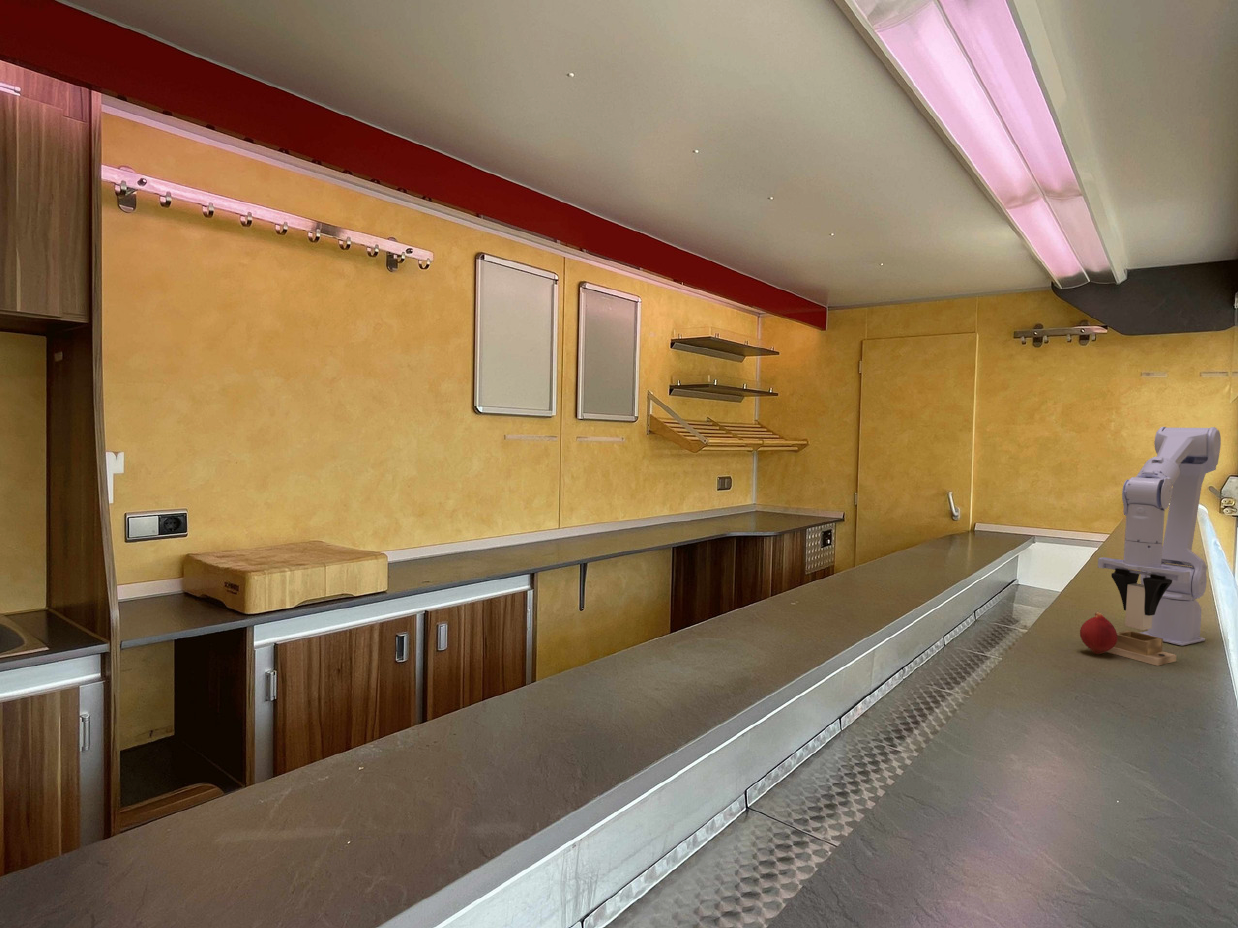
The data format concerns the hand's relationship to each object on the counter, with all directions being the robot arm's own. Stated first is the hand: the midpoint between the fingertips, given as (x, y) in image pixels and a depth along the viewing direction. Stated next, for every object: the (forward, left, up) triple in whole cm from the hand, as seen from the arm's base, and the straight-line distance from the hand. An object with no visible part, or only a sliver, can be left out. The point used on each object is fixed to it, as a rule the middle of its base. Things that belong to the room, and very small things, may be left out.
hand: (1139, 612), depth 131 cm
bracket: (0, 0, -8) cm, 8 cm away
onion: (+6, -4, -8) cm, 11 cm away
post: (0, 0, -3) cm, 3 cm away
